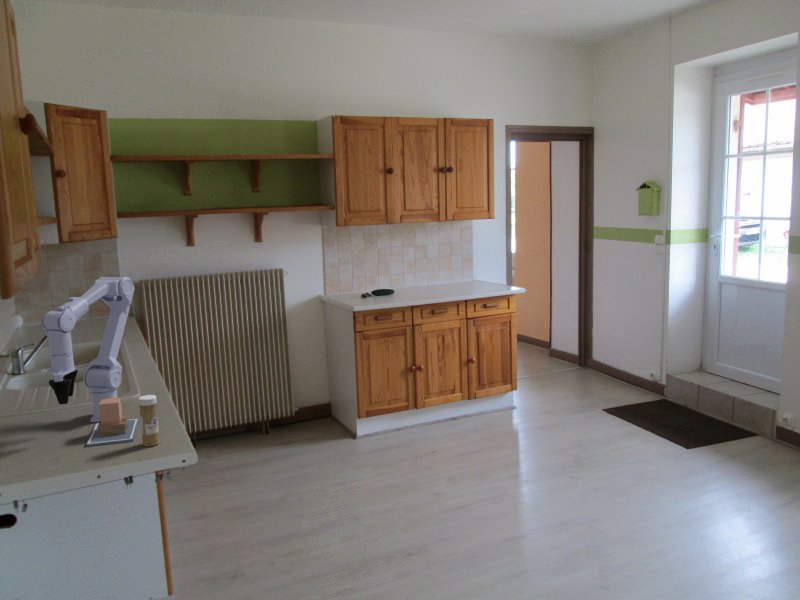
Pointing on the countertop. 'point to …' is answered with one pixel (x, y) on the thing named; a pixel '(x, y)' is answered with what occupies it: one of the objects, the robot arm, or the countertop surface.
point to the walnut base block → (113, 428)
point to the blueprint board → (112, 439)
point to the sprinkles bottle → (149, 420)
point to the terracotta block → (110, 411)
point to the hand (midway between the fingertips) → (66, 399)
